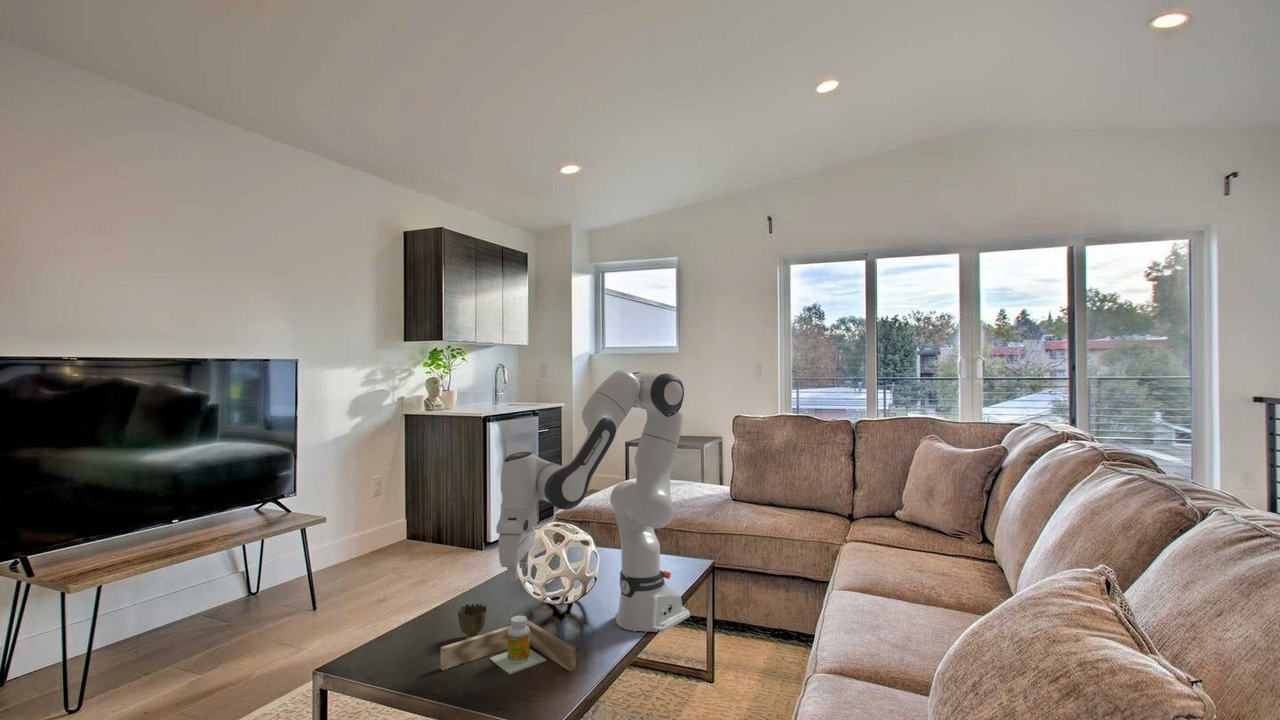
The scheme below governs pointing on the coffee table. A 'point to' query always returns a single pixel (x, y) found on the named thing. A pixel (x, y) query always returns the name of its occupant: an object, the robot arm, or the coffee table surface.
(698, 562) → the coffee table surface
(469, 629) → the cup
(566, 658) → the oak corner walls
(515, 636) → the supplement bottle
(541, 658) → the mat
